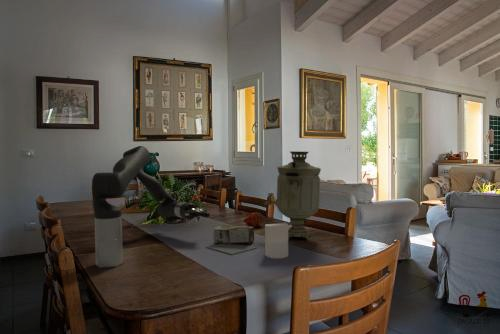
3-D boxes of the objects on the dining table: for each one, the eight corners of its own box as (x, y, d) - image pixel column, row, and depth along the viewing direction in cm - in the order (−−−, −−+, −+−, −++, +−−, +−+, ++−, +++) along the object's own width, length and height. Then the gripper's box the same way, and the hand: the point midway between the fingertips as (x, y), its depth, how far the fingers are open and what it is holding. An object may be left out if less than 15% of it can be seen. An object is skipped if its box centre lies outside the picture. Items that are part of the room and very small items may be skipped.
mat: (256, 248, 161) (256, 247, 161) (231, 254, 151) (231, 253, 151) (231, 241, 172) (231, 241, 172) (206, 247, 162) (206, 246, 162)
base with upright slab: (269, 259, 145) (269, 227, 144) (262, 253, 153) (262, 223, 153) (291, 257, 147) (291, 226, 146) (283, 251, 156) (283, 221, 155)
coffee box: (213, 243, 168) (249, 245, 163) (213, 228, 168) (248, 230, 163) (220, 238, 177) (254, 240, 172) (220, 224, 176) (254, 226, 172)
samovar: (281, 228, 200) (281, 151, 198) (330, 233, 187) (330, 151, 185) (252, 240, 174) (251, 151, 173) (306, 247, 161) (306, 151, 159)
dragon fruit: (266, 228, 208) (245, 233, 204) (260, 217, 214) (239, 222, 210) (268, 217, 202) (247, 222, 198) (261, 206, 208) (241, 211, 204)
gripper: (173, 204, 180) (196, 208, 167) (196, 201, 189) (219, 204, 176) (174, 220, 180) (196, 225, 168) (197, 216, 189) (219, 221, 177)
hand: (208, 214), depth 172 cm, fingers closed
